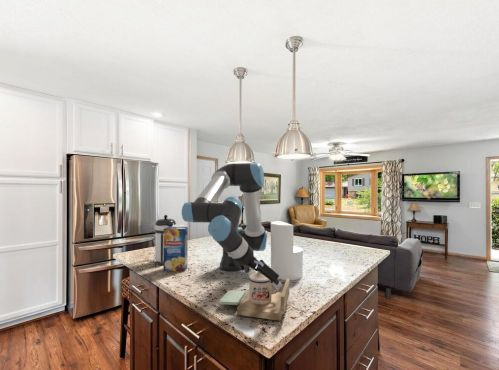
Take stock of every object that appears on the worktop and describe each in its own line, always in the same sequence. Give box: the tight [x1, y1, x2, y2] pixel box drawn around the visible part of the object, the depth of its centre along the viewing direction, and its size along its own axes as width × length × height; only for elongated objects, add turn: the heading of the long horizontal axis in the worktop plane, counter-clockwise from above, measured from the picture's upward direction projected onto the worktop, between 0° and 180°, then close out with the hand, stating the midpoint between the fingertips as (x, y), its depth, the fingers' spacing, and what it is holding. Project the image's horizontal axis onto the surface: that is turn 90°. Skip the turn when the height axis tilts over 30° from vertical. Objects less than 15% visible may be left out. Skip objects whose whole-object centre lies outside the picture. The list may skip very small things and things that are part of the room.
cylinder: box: [270, 220, 304, 281], centre depth 137 cm, size 17×17×28 cm
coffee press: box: [152, 214, 177, 266], centre depth 159 cm, size 17×16×30 cm
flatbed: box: [236, 279, 290, 322], centre depth 97 cm, size 17×18×9 cm
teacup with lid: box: [248, 271, 279, 305], centre depth 98 cm, size 12×9×12 cm
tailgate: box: [218, 289, 247, 306], centre depth 101 cm, size 2×11×8 cm
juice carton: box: [162, 226, 189, 272], centre depth 144 cm, size 12×8×24 cm, turn 92°
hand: (268, 283), depth 100 cm, fingers open, 11 cm apart
